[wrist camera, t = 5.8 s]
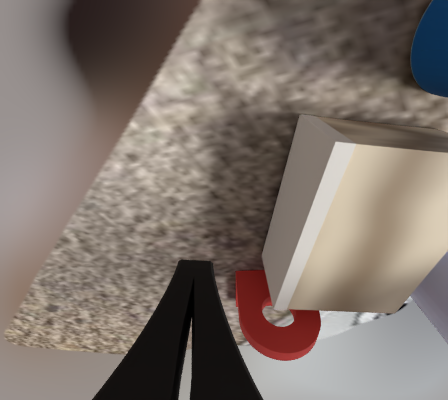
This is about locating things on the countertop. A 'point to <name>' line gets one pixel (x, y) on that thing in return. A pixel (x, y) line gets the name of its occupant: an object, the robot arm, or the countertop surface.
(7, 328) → the countertop surface
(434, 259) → the cream rectangular block
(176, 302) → the robot arm
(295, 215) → the door
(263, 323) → the bracket
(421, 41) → the beverage can
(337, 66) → the countertop surface
